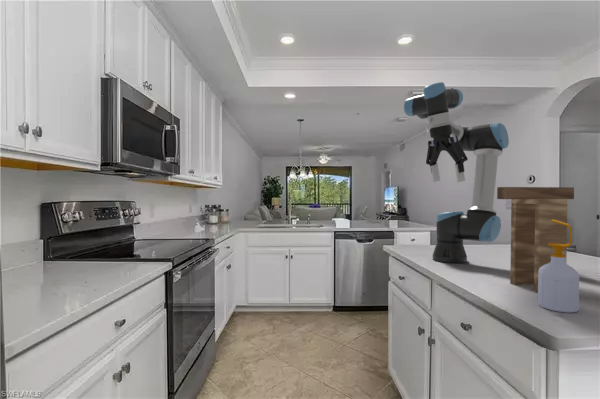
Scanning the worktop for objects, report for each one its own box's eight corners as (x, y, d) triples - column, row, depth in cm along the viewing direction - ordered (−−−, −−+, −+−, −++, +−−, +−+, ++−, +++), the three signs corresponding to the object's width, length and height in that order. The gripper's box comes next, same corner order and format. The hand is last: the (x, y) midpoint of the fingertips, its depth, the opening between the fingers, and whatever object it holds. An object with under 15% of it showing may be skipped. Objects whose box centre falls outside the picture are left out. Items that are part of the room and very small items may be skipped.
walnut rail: (497, 199, 115) (497, 187, 115) (562, 199, 120) (563, 187, 120) (506, 199, 111) (506, 187, 111) (573, 199, 116) (574, 187, 116)
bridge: (510, 283, 121) (511, 198, 121) (534, 282, 123) (535, 198, 122) (539, 293, 109) (540, 199, 109) (565, 291, 111) (567, 199, 111)
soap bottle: (539, 300, 102) (540, 218, 101) (578, 307, 96) (580, 219, 96) (536, 308, 95) (537, 220, 94) (578, 315, 89) (580, 221, 89)
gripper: (411, 132, 139) (420, 182, 142) (454, 122, 115) (464, 183, 118) (427, 128, 141) (435, 179, 144) (473, 118, 117) (481, 179, 120)
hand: (448, 181), depth 131 cm, fingers open, 13 cm apart
